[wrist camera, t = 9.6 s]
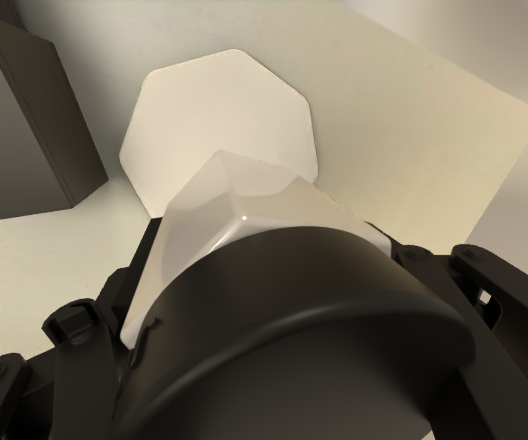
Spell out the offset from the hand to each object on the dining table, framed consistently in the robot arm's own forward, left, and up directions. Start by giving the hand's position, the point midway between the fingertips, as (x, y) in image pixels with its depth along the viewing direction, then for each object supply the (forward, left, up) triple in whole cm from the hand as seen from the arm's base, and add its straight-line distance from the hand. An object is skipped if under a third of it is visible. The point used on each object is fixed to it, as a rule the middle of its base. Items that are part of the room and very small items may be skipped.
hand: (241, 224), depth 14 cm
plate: (0, +1, -19) cm, 19 cm away
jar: (0, 0, -2) cm, 2 cm away
